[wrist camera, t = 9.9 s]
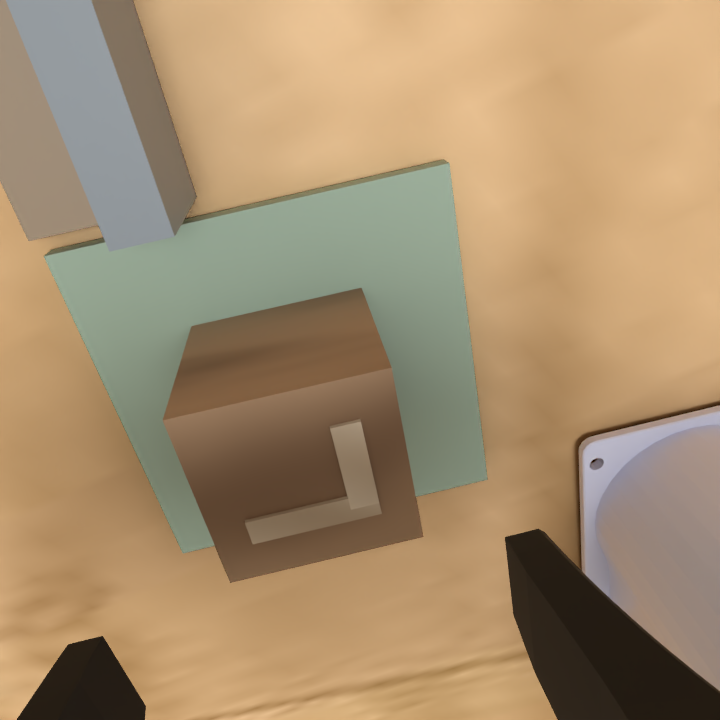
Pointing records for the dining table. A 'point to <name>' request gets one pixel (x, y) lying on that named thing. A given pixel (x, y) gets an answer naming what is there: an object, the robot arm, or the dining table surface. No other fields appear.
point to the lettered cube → (293, 435)
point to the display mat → (281, 287)
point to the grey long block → (87, 124)
